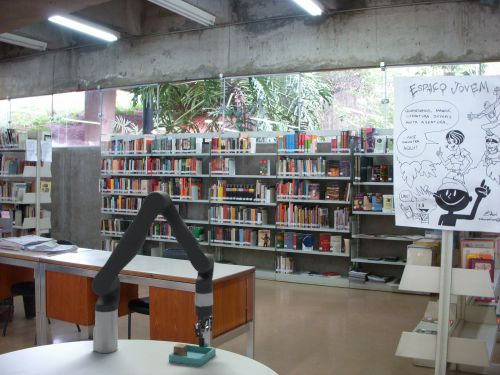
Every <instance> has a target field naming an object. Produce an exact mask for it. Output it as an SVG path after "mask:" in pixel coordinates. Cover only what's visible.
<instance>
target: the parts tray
mask: <svg viewBox="0 0 500 375" xmlns="http://www.w3.org/2000/svg"><path fill="white" fill-rule="evenodd" d="M186 344H187V343H186ZM216 352H217V351H216V348H215V347H209V346H208V347H199V345H193V344H187V357H186V356H179V355H174V351H173V352H171V353H169V354H168V362H170V363H175V364H177V363H178V364H181V365H182V364H183V365H190V366H194V367H195V366H197V367H202V366H203V365H204V364H206V363H207V362H209V360H211V359H212V358H213V357H214V356H216V354H217V353H216Z"/></svg>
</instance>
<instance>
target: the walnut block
mask: <svg viewBox="0 0 500 375" xmlns="http://www.w3.org/2000/svg"><path fill="white" fill-rule="evenodd" d="M173 352H174V355H179V356H186V357H187V343H179V342H178V343H177V344H175V345H173Z"/></svg>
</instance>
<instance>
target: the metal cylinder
mask: <svg viewBox="0 0 500 375" xmlns="http://www.w3.org/2000/svg"><path fill="white" fill-rule="evenodd" d="M209 346H210V334H209V331H208V330H206V332H205V335H204V347H209Z"/></svg>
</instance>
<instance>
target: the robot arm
mask: <svg viewBox="0 0 500 375" xmlns="http://www.w3.org/2000/svg"><path fill="white" fill-rule="evenodd" d="M159 215H161V216H162V218H164V220H165V221H166V222H167V223H168V225H169V227H170V230H171V232H172V234H173V236H174V238H175V241H176V242H177V243H178V245H179V246H180V247H181V249H182V250H183V252H184V253H185V254H186V256H187V258H188V260H189V262H190V264H191V266H192V268H193V269H194V270H195V271H196V272H197V276H196V279H195V284H194V285H195V287H194V288H195V289H194V291H195V293H194V315H195V316H196V317H197V320H196V321H197V323H194V324H193V328H194V334H195V338H198V346H199V347H204V335H205V332H206V330H208V331H209V335H210V334H211V332H212V331H213V325H214V294H213V277H214V268H215V260H214V258H213V256H212V255H211V254H209V253H204V251H203V250H202V248H201V243H200V242H199V240H198V239H197V237H196V236H195V234H193V232H192V231H191V229H190V228H189V226H188V225H187V224H186V222H185V220H184V219H183V217H182V216H181V214H180V213H179V211H178V209H177V208H176V206H175V203H174V202H173V199H172V197H171V196H170V194H169V193H168V192H167V191H164V190H154V191H153V190H152V191H150V192H149V193H148V194H147V195H146V196H145V198H144V200H143V202H142V204H141V206H140V208H139V209H138V211H137V214H136V215H135V217H134V219H133V220H132V221H131V223H130V224H129V226H128V227H127V229H126V230H125V232H124V233H123V234H122V236H121V237H120V239H119V241H118V242H117V244H116V246H115V247H114V249H113V250H112V251H111V254H110V256H108V257H109V258H108V259H107V261H106V262H105V263H104V265H103V266H102V267H101V269H99V271H98V272H97V274H95V276H94V278H93V279H92V282H91V289H92V291H93V293H94V294H95V295H97V296H99V297H98V299H97V301H96V302H95V305H94V307H95V308H94V314H95V315H94V317H95V322H94V325H95V326H94V327H93V328H92V333H93V334H92V336H93V337H92V341H93V342H92V350H93V351H95V353H99V354H106V353H107V354H108V353H114V352H115V351H117V350H118V348H119V346H118V344H119V343H118V340H119V339H118V338H119V337H118V334H119V332H118V331H119V326H118V324H119V323H118V321H119V319H118V318H119V315H118V314H119V313H118V311H119V310H118V309H119V303H120V297H121V295H120V294H121V280H120V276H119V274H120V273H121V272H122V271H123V269H124V268H126V266H128V264H130V263H131V262H132V261H133V259H134V258H135V257H136V256H137V255H138V254H139V252H140V251H141V249H142V247H143V246H144V244H145V242H146V240H147V237H148V233H149V231H150V227H151V226H152V224H153V223H154V221H155V220H156V219H157V218H158V216H159ZM212 315H213V316H212Z"/></svg>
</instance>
